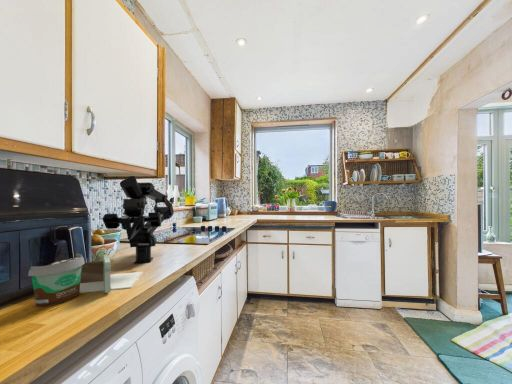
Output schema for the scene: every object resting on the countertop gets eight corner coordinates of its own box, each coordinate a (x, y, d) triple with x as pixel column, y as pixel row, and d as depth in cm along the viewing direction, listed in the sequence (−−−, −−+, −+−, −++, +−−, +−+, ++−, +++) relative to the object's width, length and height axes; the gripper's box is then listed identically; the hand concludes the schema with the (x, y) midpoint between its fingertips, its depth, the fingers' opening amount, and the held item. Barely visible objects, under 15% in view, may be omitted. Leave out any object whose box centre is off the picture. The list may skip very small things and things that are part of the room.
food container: (49, 312, 53) (48, 268, 53) (28, 309, 54) (27, 267, 54) (96, 289, 65) (96, 254, 65) (78, 287, 66) (78, 252, 66)
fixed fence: (79, 282, 72) (79, 255, 72) (108, 279, 73) (108, 253, 74) (76, 284, 70) (77, 256, 70) (106, 281, 72) (106, 254, 72)
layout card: (85, 277, 77) (85, 276, 77) (142, 272, 81) (142, 271, 81) (59, 295, 62) (59, 293, 62) (131, 288, 67) (131, 286, 67)
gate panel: (108, 279, 72) (108, 253, 73) (110, 291, 63) (110, 261, 63) (103, 280, 72) (103, 254, 72) (104, 293, 62) (104, 262, 62)
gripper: (104, 191, 83) (91, 225, 72) (160, 191, 88) (155, 223, 77) (112, 212, 90) (101, 246, 80) (163, 210, 95) (159, 242, 84)
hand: (129, 239), depth 80 cm, fingers closed
